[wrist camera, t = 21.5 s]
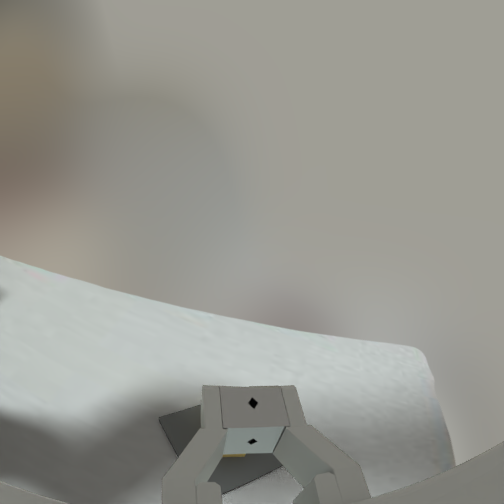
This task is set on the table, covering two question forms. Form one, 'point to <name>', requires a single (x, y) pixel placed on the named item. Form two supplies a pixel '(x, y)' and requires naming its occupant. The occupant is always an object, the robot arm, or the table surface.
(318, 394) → the table surface
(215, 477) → the mat
